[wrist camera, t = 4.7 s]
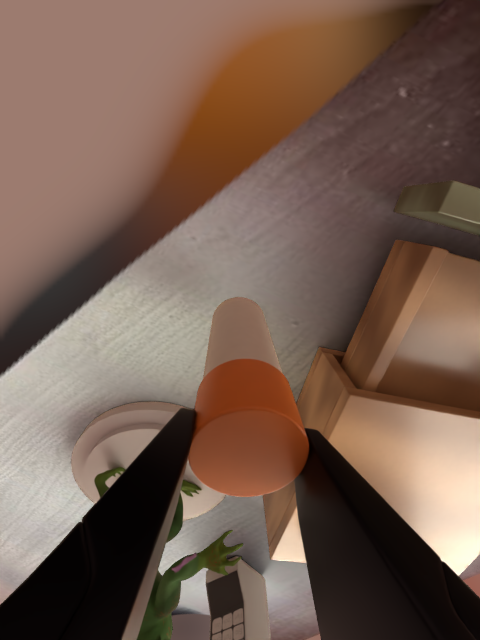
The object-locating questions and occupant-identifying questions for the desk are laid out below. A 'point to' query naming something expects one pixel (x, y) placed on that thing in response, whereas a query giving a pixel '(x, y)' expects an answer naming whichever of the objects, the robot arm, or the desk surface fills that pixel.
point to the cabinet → (391, 462)
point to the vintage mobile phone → (238, 604)
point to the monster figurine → (194, 500)
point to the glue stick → (245, 409)
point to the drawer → (424, 309)
